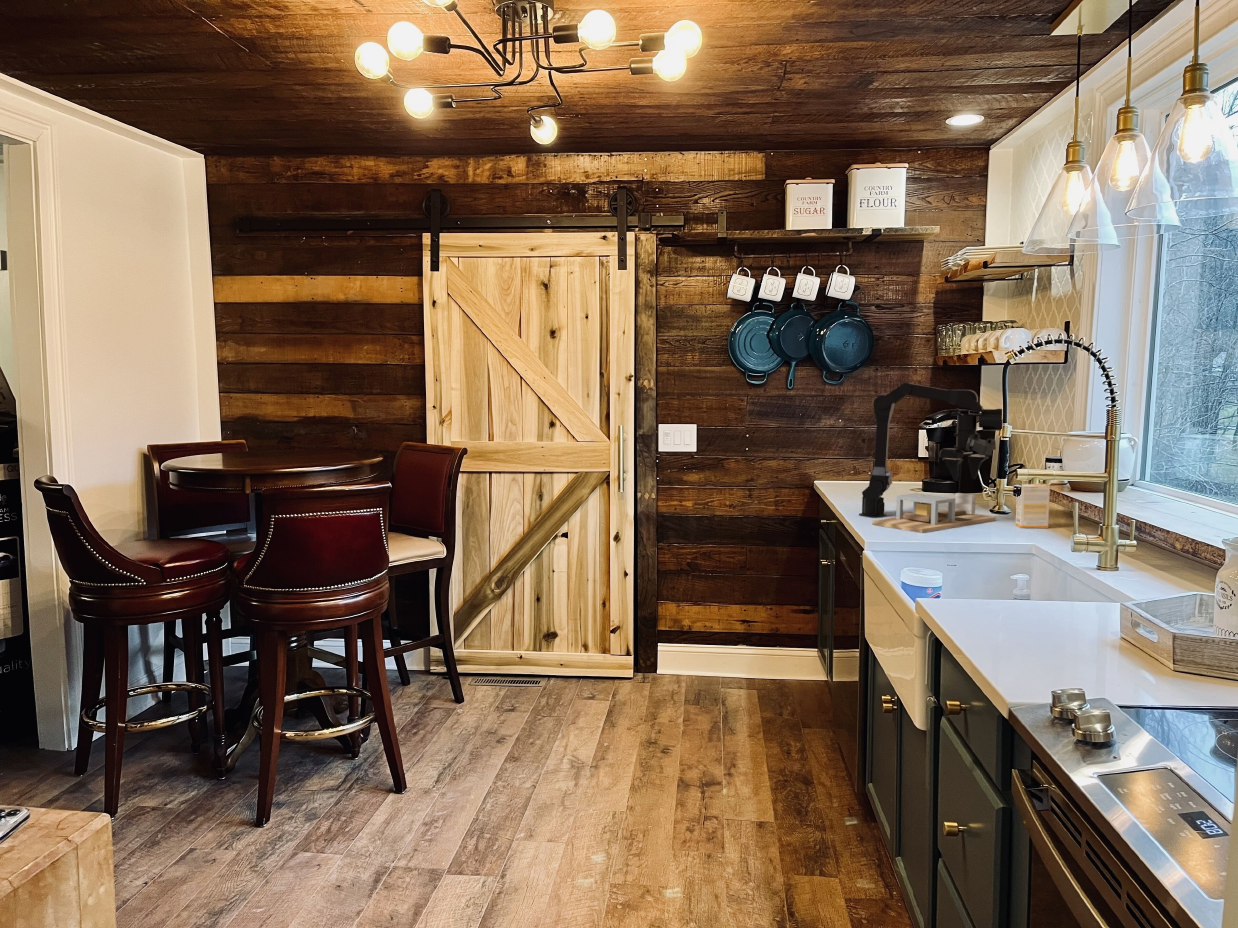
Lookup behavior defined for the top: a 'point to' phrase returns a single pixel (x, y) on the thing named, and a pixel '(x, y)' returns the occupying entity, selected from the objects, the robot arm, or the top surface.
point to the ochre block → (923, 509)
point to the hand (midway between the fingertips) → (964, 479)
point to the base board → (928, 527)
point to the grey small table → (926, 499)
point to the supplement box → (1033, 506)
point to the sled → (962, 506)
